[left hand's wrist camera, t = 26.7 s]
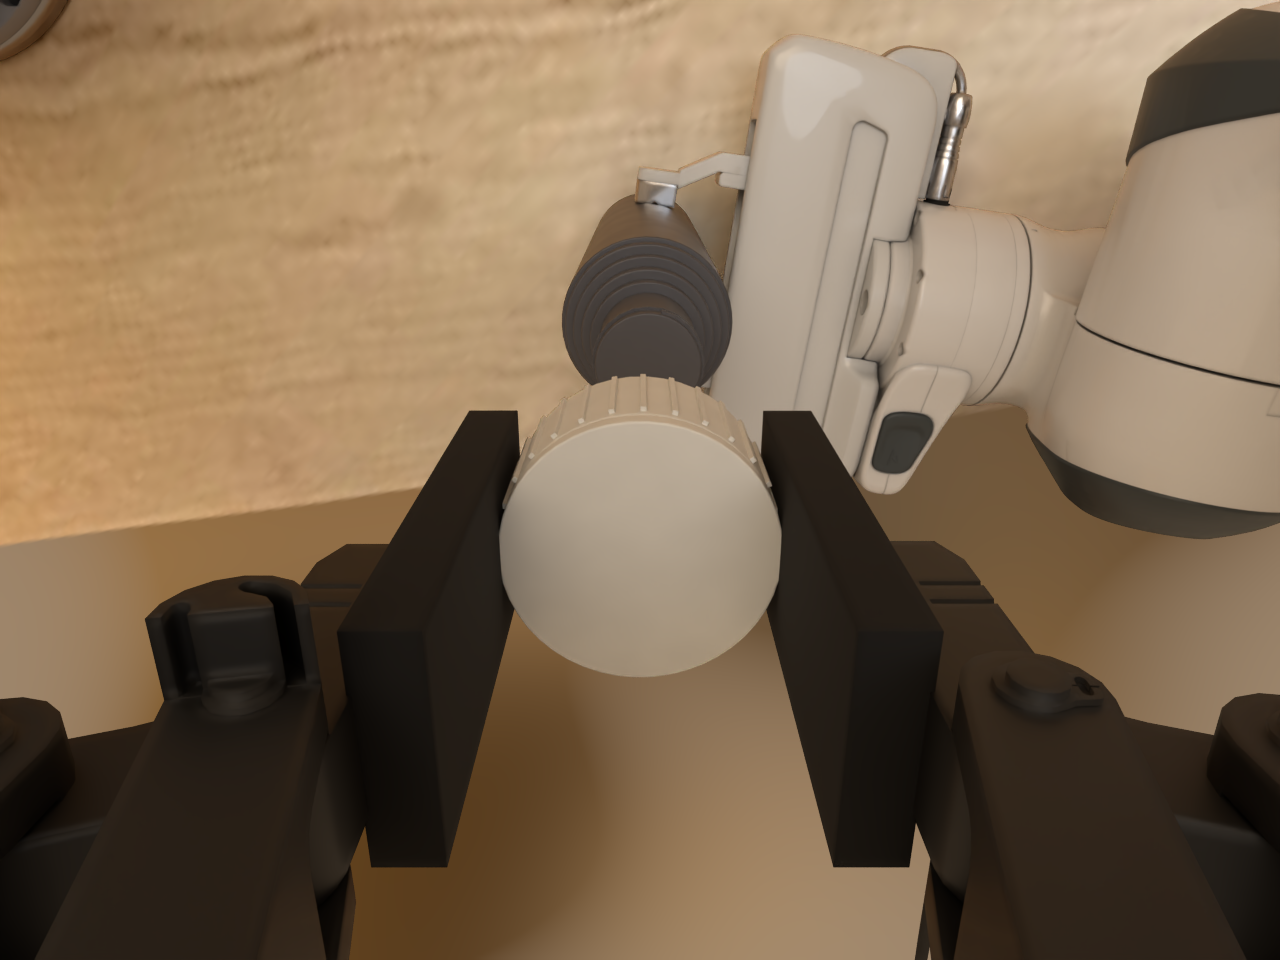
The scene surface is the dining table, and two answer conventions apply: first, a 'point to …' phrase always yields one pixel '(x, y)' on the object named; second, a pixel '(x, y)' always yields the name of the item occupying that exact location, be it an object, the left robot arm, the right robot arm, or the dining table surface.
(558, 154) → the dining table surface
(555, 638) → the cap
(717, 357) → the bottle
